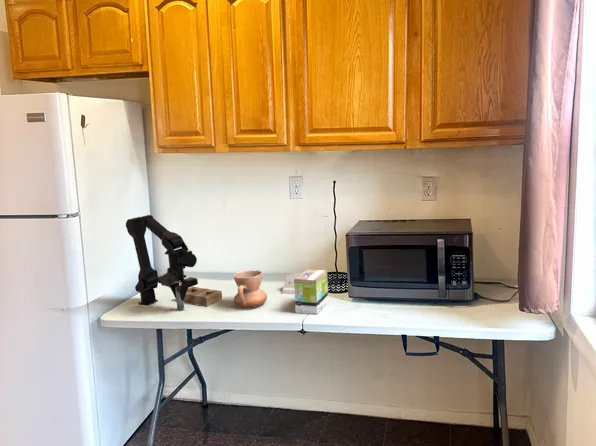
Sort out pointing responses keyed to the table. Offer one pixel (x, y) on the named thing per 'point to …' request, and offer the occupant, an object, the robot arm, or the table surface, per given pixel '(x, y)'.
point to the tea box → (311, 291)
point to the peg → (179, 299)
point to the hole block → (202, 296)
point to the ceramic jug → (249, 289)
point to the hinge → (289, 284)
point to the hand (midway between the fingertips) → (179, 299)
